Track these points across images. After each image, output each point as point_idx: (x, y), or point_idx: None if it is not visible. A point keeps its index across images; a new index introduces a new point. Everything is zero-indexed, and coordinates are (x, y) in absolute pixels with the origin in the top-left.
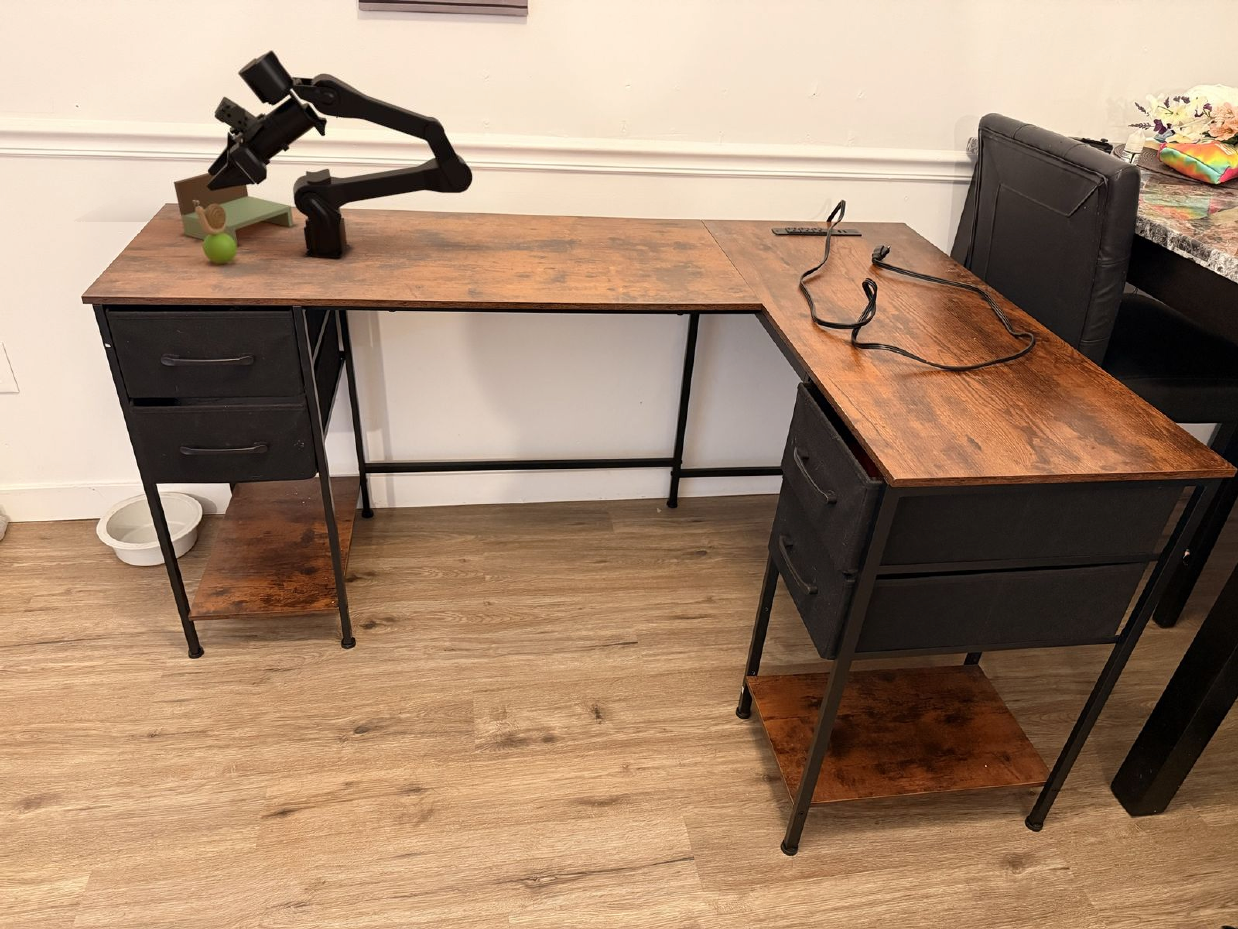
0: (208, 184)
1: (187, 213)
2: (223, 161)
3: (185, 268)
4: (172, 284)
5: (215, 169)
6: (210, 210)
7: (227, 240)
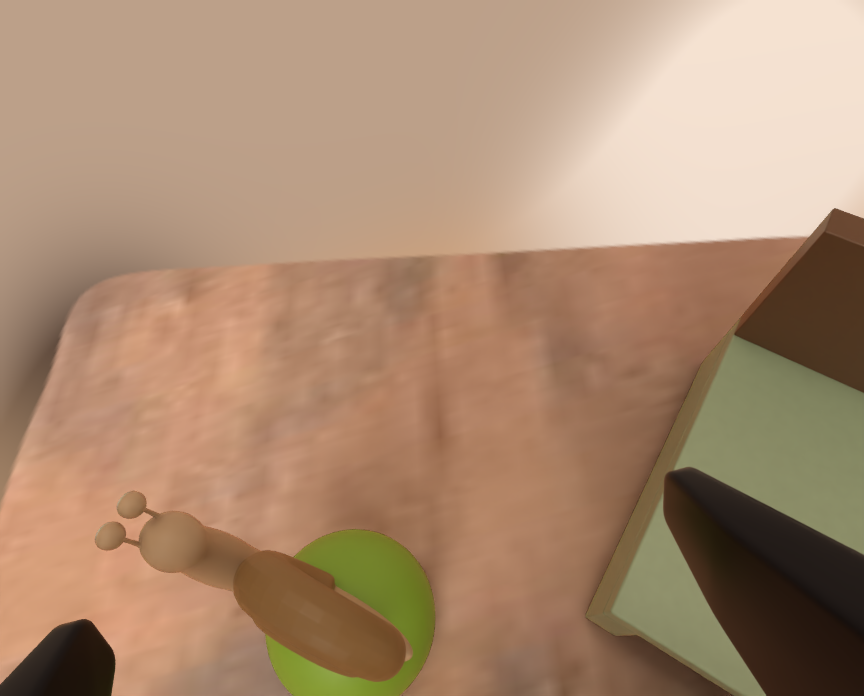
0: (35, 651)
1: (753, 342)
2: (842, 684)
3: (300, 474)
4: (126, 475)
5: (709, 558)
6: (245, 604)
7: (301, 684)
